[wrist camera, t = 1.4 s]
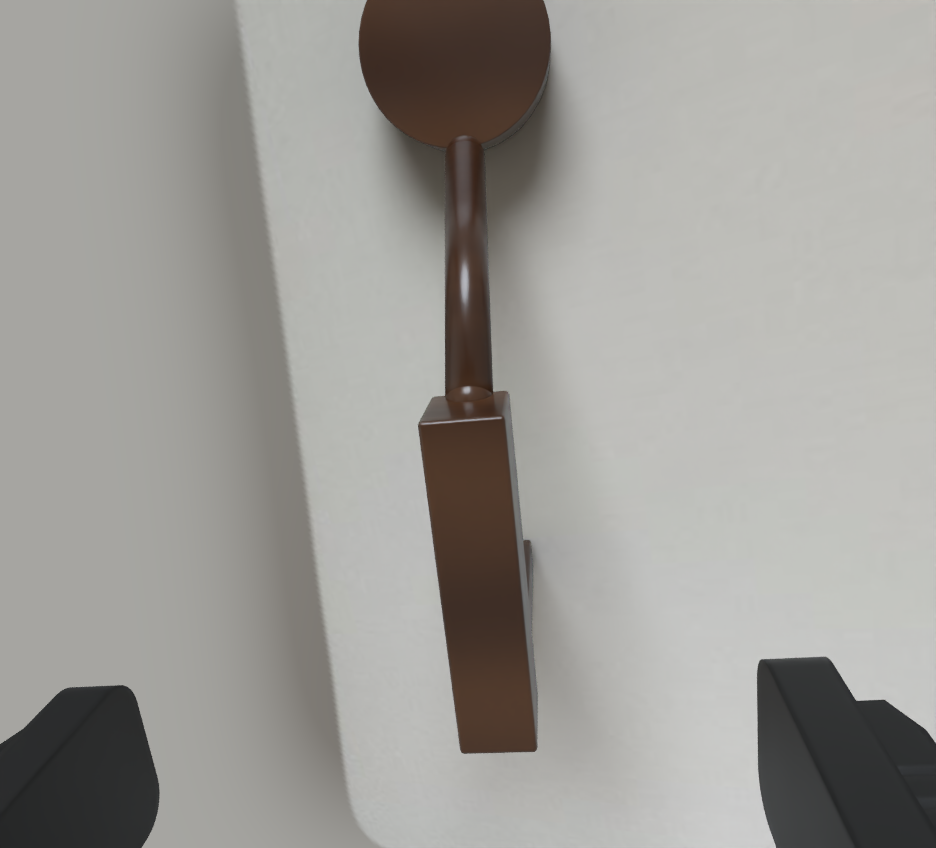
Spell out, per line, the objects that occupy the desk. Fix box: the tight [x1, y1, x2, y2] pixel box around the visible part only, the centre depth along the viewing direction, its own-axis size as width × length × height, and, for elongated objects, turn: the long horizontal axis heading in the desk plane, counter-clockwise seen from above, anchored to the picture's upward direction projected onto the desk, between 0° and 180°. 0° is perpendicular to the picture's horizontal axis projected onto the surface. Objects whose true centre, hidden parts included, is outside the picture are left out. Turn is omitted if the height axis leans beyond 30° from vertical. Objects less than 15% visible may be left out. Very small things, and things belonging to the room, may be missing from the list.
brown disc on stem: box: [359, 0, 551, 754], centre depth 22 cm, size 21×6×10 cm, turn 6°
